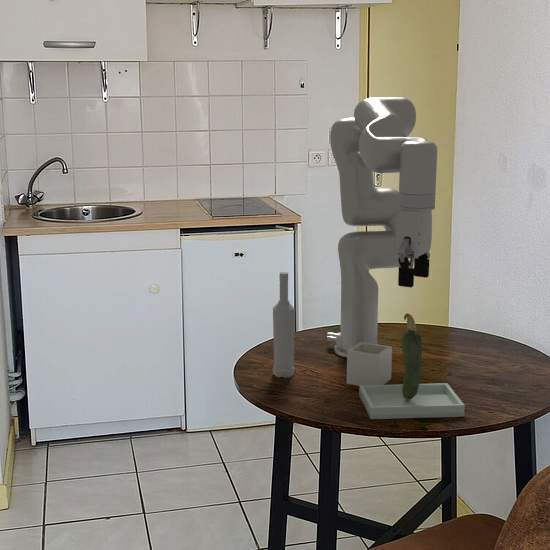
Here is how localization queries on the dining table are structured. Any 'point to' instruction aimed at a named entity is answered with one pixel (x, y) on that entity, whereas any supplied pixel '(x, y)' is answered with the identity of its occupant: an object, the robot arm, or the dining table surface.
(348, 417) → the dining table surface
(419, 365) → the vegetable
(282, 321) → the bottle
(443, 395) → the tray
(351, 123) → the robot arm
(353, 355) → the grey square open box
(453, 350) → the dining table surface
